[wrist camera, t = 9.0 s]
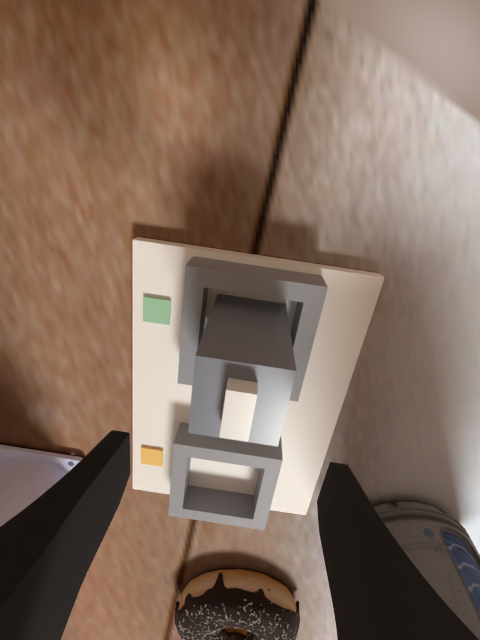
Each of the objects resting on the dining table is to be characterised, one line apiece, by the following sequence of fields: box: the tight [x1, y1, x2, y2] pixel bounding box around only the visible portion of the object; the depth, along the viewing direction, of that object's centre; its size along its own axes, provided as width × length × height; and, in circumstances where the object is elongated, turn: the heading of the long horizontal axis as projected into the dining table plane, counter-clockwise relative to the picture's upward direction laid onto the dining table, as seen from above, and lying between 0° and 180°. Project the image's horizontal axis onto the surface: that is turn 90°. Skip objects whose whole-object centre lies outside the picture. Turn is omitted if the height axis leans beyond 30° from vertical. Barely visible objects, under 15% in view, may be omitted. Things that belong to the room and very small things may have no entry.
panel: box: [133, 237, 385, 530], centre depth 22 cm, size 14×20×3 cm
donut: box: [175, 569, 300, 640], centre depth 32 cm, size 11×12×4 cm
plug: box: [188, 294, 297, 447], centre depth 17 cm, size 4×4×8 cm
